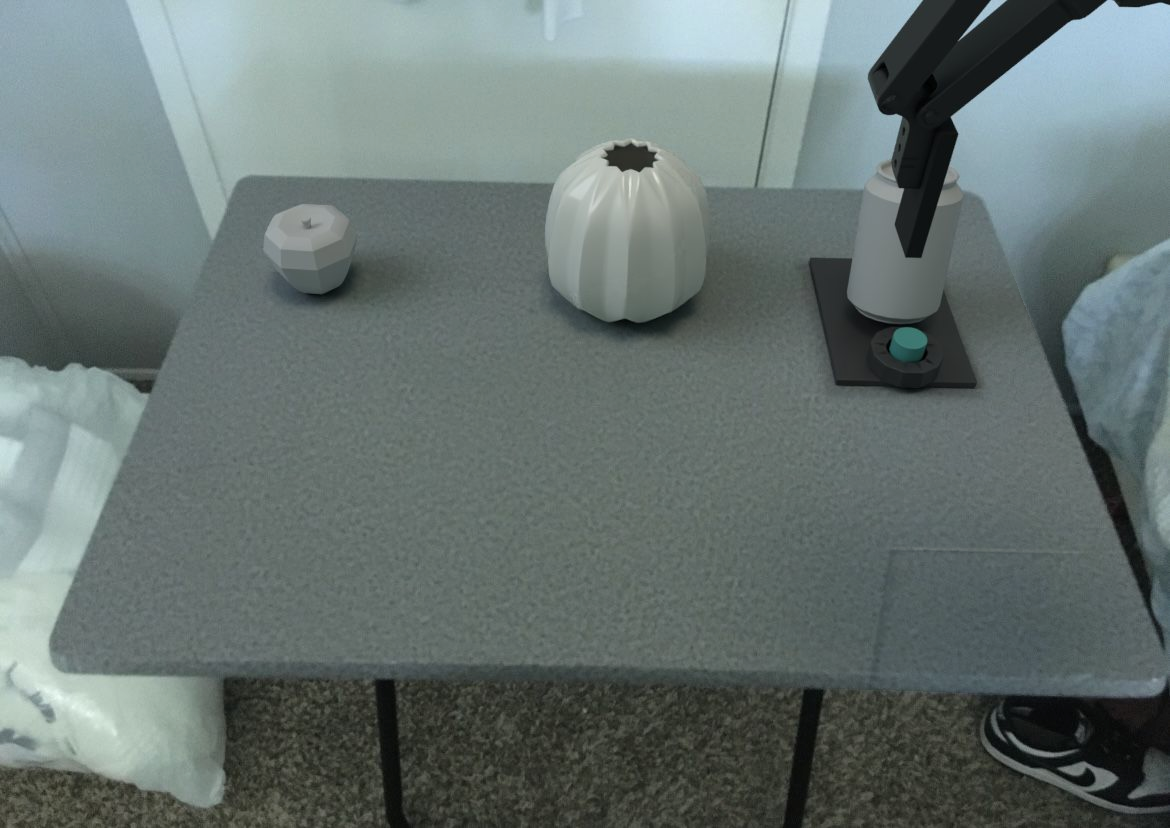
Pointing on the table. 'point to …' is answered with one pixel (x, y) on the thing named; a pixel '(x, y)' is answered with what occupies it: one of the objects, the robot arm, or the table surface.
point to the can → (900, 253)
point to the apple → (311, 246)
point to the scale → (884, 339)
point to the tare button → (908, 345)
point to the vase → (628, 231)
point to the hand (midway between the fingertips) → (1049, 245)
